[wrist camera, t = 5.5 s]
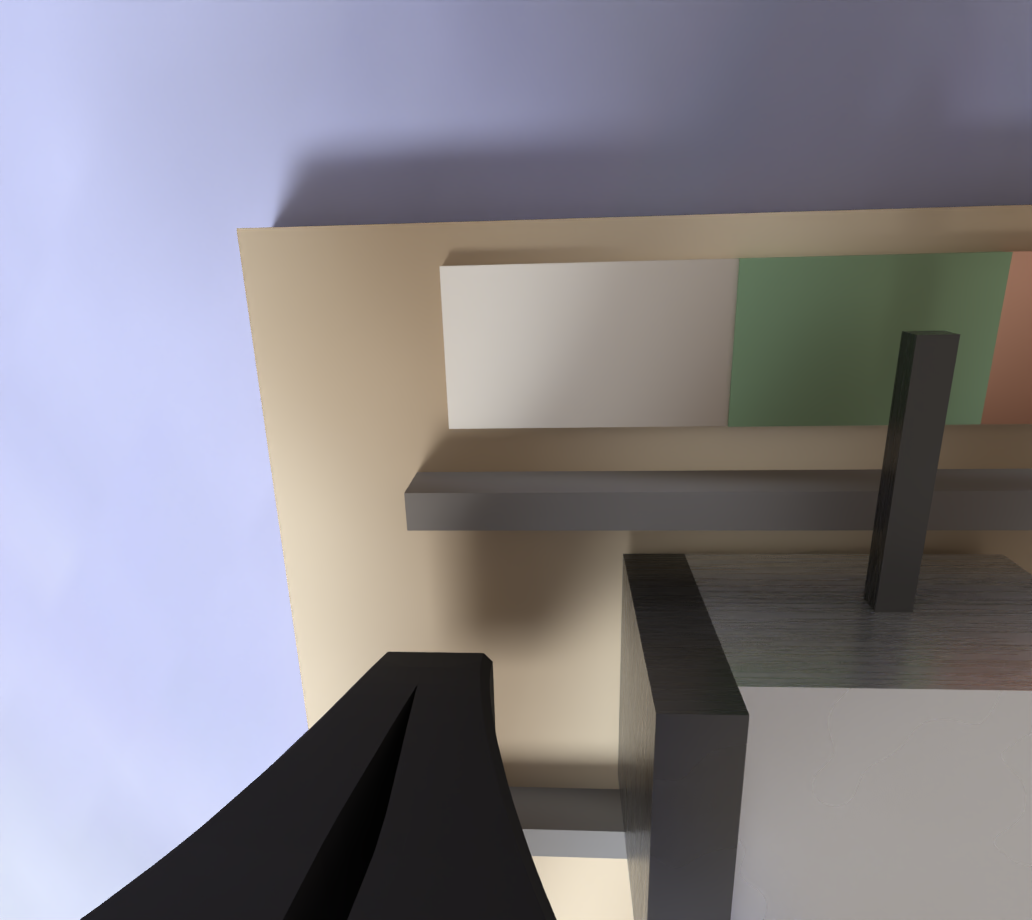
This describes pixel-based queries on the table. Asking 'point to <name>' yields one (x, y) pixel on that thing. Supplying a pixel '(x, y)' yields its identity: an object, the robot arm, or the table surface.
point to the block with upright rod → (833, 713)
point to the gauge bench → (608, 443)
